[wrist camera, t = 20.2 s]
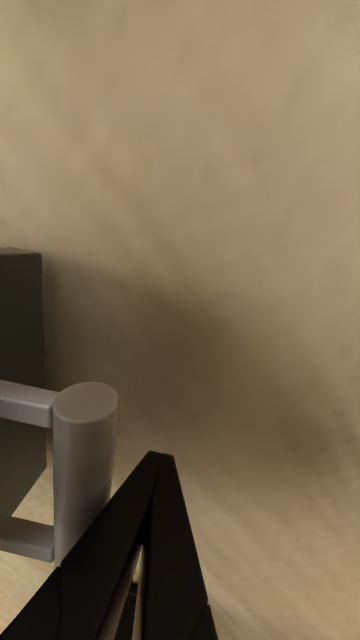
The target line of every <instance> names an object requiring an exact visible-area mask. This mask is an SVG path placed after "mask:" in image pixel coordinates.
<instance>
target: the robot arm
mask: <svg viewBox="0 0 360 640" xmlns="http://www.w3.org/2000/svg"><path fill="white" fill-rule="evenodd" d="M142 545H143V546H142ZM141 549H142V555H141V563H140V572H139V581H138V588H137V587H133V586H130V585H131V581H132V578H133V575H134V572H135V568H136V565H137V562H138V559H139V555H140V552H141ZM207 603H208V596H207V592H206V588H205V584H204V580H203V576H202V571H201V567H200V563H199V559H198V555H197V551H196V547H195V542H194V538H193V534H192V530H191V526H190V522H189V518H188V514H187V509H186V505H185V501H184V497H183V493H182V489H181V485H180V480H179V476H178V472H177V468H176V464H175V460H174V457H173V455H170V454H165V453H160V452H156V451H152V450H150V451H148V452H147V454H146V455H145V456H144V457H143V459H142V460H141V461H140V462H139V464H138V465H137V466H136V467H135V469H134V470H133V471H132V473H131V474H130V475H129V476H128V478H127V479H126V480H125V481H124V483H123V484H122V485H121V486H120V488H119V489H118V490H117V491H116V493H115V494H114V495H113V497H112V498H111V499H110V500H109V502H108V503H107V504H106V505H105V507H104V508H103V509H102V510H101V512H100V513H99V514H98V516H97V517H96V518H95V519H94V521H93V522H92V523H91V524H90V526H89V527H88V528H87V529H86V531H85V532H84V533H83V535H82V536H81V537H80V538H79V540H78V541H77V542H76V543H75V545H74V546H73V547H72V548H71V550H70V551H69V552H68V553H67V555H66V556H65V557H64V559H63V560H62V561H61V563H60V567H59V566H57V567H56V568H55V570H54V571H53V572H52V573H51V575H50V576H49V577H48V579H47V580H46V581H45V582H44V584H43V585H42V586H41V587H40V589H39V590H38V591H37V592H36V593H35V595H34V596H33V597H32V598H31V599H30V601H29V602H28V603H27V604H26V605H25V607H24V608H23V609H22V610H21V612H20V613H19V614H18V615H17V616H16V618H15V619H14V620H13V621H12V622H11V623H10V624H9V625H8V627H7V628H6V629H5V630H4V631H3V632H2V633H1V634H0V640H218V636H217V633H216V629H215V624H214V620H213V616H212V612H211V608H210V605H209V604H207Z"/></svg>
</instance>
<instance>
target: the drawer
mask: <svg viewBox="0 0 360 640" xmlns="http://www.w3.org/2000/svg"><path fill="white" fill-rule="evenodd" d="M119 401H120V399H119V395H118V393H117V391H116V390H115V389H114V388H112V387H111V386H109V385H107V384H104V383H100V382H82V383H78V384H74V385H71V386H69V387H67V388H65V389H64V390H62V391H61V392H56V391H51V390H47V389H45V379H44V338H43V297H42V256H41V253H39V252H34V251H28V250H23V249H17V248H0V550H1V551H6V552H10V553H14V554H18V555H22V556H26V557H30V558H34V559H38V560H42V561H46V562H50V563H51V562H53V560H54V570H55V568H56V567H57V566H59V567H60V563H61V561H62V560H63V559H64V557H65V556H66V555H67V553H68V552H69V551H70V550H71V548H72V547H73V546H74V545H75V543H76V542H77V541H78V540H79V538H80V537H81V536H82V535H83V533H84V532H85V531H86V529H87V528H88V527H89V526H90V524H91V523H92V522H93V521H94V519H95V518H96V517H97V516H98V514H99V513H100V512H101V510H102V509H103V508H104V507H105V505H106V504H107V503H108V502H109V500H110V494H111V484H112V474H113V463H114V453H115V443H116V433H117V422H118V412H119ZM52 426H53V490H54V526H50V525H46V524H41V523H37V522H33V521H29V520H25V519H21V518H16V517H12V516H11V515H12V514H13V513H14V511H15V510H16V508H17V507H18V506H19V504H20V503H21V502H22V500H23V499H24V497H25V496H26V495H27V493H28V492H29V490H30V489H31V488H32V486H33V485H34V484H35V482H36V481H37V479H38V478H39V477H40V475H41V474H42V472H43V471H44V470H45V468H46V466H47V461H46V428H50V427H52Z"/></svg>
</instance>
